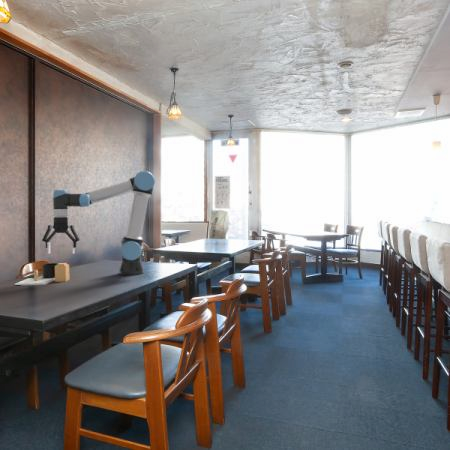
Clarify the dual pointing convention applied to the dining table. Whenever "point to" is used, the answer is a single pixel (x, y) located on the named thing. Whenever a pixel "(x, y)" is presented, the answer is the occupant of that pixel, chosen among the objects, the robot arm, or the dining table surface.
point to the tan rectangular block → (62, 272)
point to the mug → (49, 270)
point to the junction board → (31, 281)
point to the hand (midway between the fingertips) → (61, 253)
